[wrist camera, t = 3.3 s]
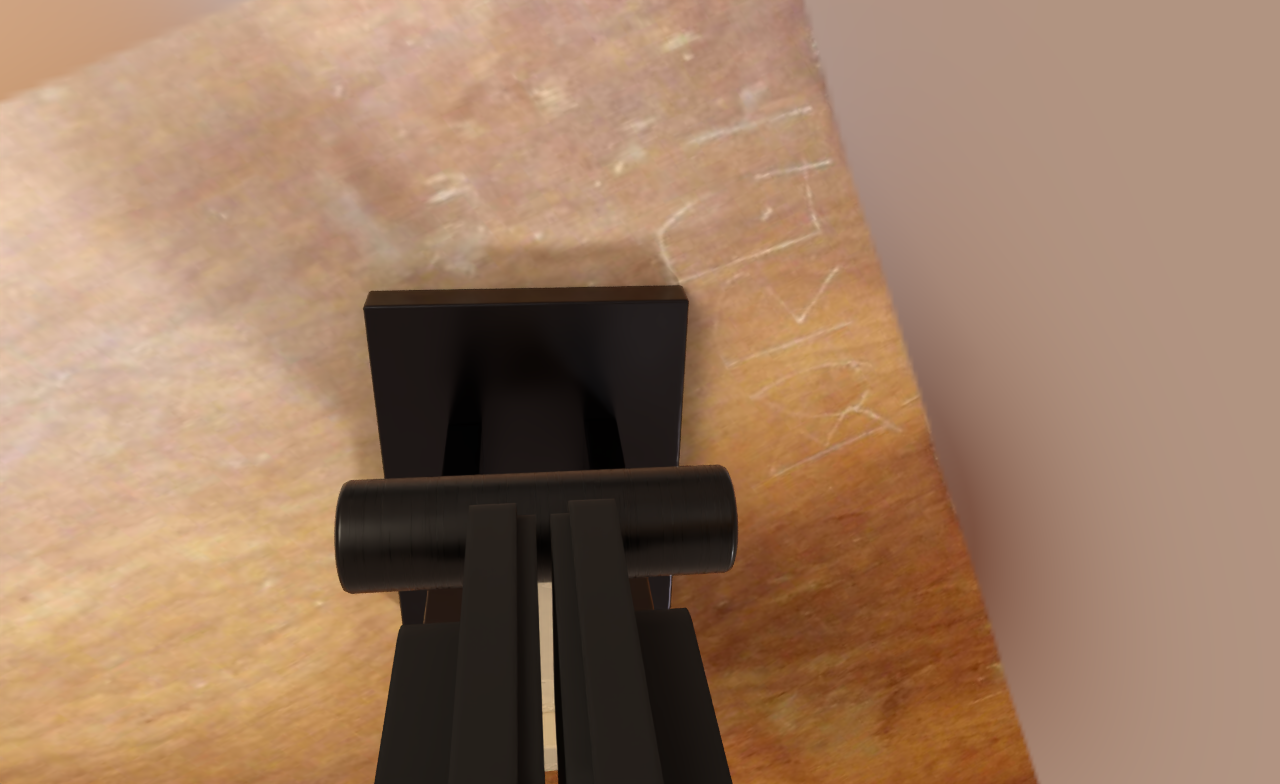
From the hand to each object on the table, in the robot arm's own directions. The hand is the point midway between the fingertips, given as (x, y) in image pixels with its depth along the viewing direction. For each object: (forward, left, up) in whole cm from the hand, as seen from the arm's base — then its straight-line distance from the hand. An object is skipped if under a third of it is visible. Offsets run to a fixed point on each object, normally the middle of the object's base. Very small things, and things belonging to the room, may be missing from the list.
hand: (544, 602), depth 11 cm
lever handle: (+4, -1, -5) cm, 6 cm away
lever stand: (+8, -2, -16) cm, 19 cm away
